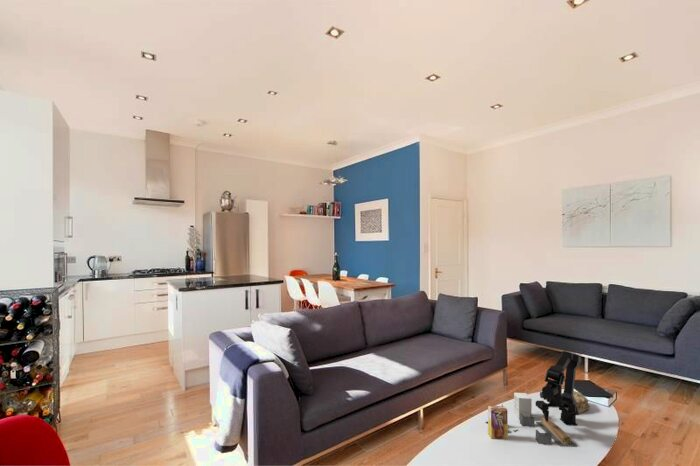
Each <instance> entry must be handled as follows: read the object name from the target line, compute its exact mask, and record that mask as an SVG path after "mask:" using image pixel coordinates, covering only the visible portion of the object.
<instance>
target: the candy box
mask: <svg viewBox="0 0 700 466" xmlns="http://www.w3.org/2000/svg"><path fill="white" fill-rule="evenodd" d="M487 414H488V415H487V422H488V424H487V427H488V428H487V430H488V431H487V435H488V436H489V437H490V439H493V440H494V439H495V440H496V439H497V440H500V439H501V440H502V439H503V440H504V439H505V440H508V437H509V436H508V435H509V433H508V430H509V427H508V426H509V424H508V408H506V406H505V405H503V406H502V405H488V406H487Z"/></svg>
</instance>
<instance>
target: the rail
mask: <svg viewBox="0 0 700 466" xmlns="http://www.w3.org/2000/svg"><path fill="white" fill-rule="evenodd" d="M541 422H542V424H543V425H544V426H545V427H546V428H547V429H548V430H549V431H551V432H552V433H553V434H554V435H555V436H556V437H557V438H558V439H559V440H560V441H561V442H562V443H563V444H565V445H571V441H572V437H571V436H570V435H569V434H567V432H565V431H564V430H563V429H562V428H561V427H559V425H557V424H556V423H555V422H554V421H553V420H552V419H551V418H550V417H548V422H547V421H546V420H545V417H544V416H541Z"/></svg>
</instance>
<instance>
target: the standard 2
mask: <svg viewBox="0 0 700 466" xmlns="http://www.w3.org/2000/svg"><path fill="white" fill-rule="evenodd" d="M535 442H536V443H537V444H538V445H552V444H553V439H552V433H551V432H550V431H549V430H547V433H546V432H540V431H539V430H538V429H535Z"/></svg>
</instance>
